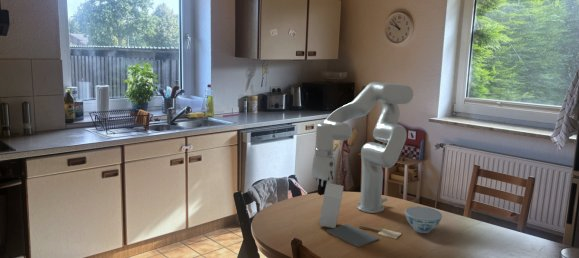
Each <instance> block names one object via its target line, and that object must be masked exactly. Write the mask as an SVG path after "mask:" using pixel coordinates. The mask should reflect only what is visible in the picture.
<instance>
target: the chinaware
mask: <svg viewBox="0 0 579 258" xmlns="http://www.w3.org/2000/svg"><path fill="white" fill-rule="evenodd" d="M404 214H405V215H404V216H405V218H406V221H407V222H408V224H409V225H410V226H411V228H413V230H414V231H415V232H417V233H420V234H428V233H430V232H431V231H432V230H434V229H435V228H436V227H438V225H439V224H440V222H441V220H442V218H443V214H442V212H440V211H439V210H437V209H435V208H431V207H427V206H418V205H417V206H410V207H408V208H405V210H404Z"/></svg>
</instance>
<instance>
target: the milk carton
mask: <svg viewBox="0 0 579 258" xmlns="http://www.w3.org/2000/svg"><path fill="white" fill-rule="evenodd" d="M344 187H345V186H344V185H339V184H337V183H333V182H332V183H327V184H326V188H325V193H324V195H323V199H322V204H321V205H322V206H321V208H320V209H321V210H320V216H319V222H318V226H321V227H326V228H330V229H333V228H336V227H337V223H338V218H339V213H340V210H341V209H340V208H341V202H342V198H343V193H344Z"/></svg>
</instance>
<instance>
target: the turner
mask: <svg viewBox="0 0 579 258" xmlns="http://www.w3.org/2000/svg"><path fill="white" fill-rule="evenodd" d="M358 227H359V228H358V229H363V230H367V231H370V232H375V233H377V236H380V237H385V238H390V239H392V240H393V239H394V240H397V239H398V238H399V237H400V236H401V235H402V232H398V231H394V230H390V229H387V228H381V229H380V228H377V227H374V226H370V225H365V224H359V225H358Z"/></svg>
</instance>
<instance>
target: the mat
mask: <svg viewBox="0 0 579 258" xmlns="http://www.w3.org/2000/svg"><path fill="white" fill-rule="evenodd" d="M326 233H328V234H329V235H332V236H334V237H335V238H338V239H339V240H342V241H345V242H346V243H349V244H350V245H352V246H353V247H354V246H355V247H357V248H360V247H363V246H365V245H368V244H371V243H374V242H377V241H379V240H380V238H379V237H377V236H374V235H372V234H370V233H368V232H365V231H364V230H361V229H360V228H357V227H355V226H353V225H350V224H348V223H346V224H343V225H339V226H336V228H330V229H327V230H326Z"/></svg>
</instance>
